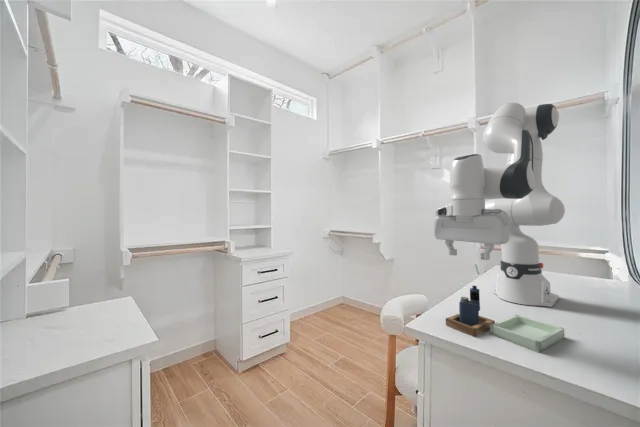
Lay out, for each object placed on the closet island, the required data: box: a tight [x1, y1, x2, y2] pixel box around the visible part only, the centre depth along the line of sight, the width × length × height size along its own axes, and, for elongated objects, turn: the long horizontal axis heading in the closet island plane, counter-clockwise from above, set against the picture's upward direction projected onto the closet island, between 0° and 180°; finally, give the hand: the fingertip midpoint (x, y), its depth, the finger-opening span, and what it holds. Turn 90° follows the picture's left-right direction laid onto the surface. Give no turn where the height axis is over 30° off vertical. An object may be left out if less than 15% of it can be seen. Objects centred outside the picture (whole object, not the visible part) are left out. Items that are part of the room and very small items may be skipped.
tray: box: [489, 314, 565, 354], centre depth 68 cm, size 14×11×2 cm
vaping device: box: [459, 285, 481, 326], centre depth 74 cm, size 3×5×12 cm, turn 53°
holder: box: [445, 313, 496, 337], centre depth 74 cm, size 10×8×2 cm
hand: (468, 257), depth 74 cm, fingers open, 8 cm apart
